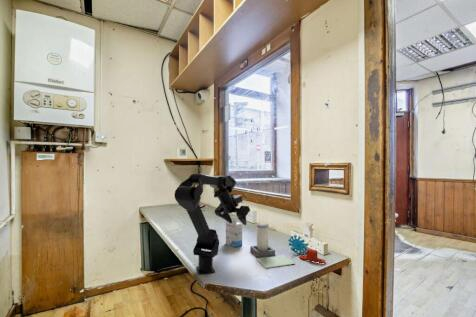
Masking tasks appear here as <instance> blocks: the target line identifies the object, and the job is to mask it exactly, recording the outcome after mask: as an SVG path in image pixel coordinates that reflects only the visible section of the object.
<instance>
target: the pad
mask: <svg viewBox="0 0 476 317" xmlns="http://www.w3.org/2000/svg"><path fill="white" fill-rule="evenodd" d="M255 259H256V261H257V262H258V263H259V264H260V265H261V266H262V267H263V268H265V269H272V268H273V269H274V268H279V267H285V266H286V265H287V266H292V264H294V265H296V263H295V262H294V261H293V260H291V259H289V258H288V257H287V256H286V255H284V254H282V255H281V254H280V255H275V256H269V257H261V258H257V257H256V258H255Z"/></svg>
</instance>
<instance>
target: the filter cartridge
mask: <svg viewBox="0 0 476 317" xmlns="http://www.w3.org/2000/svg"><path fill="white" fill-rule="evenodd" d="M256 246H257V250H258V251H267V250H268V246H269V223H265V222H263V223H262V222H259V223H257V224H256Z"/></svg>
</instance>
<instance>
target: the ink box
mask: <svg viewBox="0 0 476 317" xmlns="http://www.w3.org/2000/svg"><path fill="white" fill-rule="evenodd" d="M231 220H232V223H229V222H228V221H226V220H225V245H229V246H231V247H235V248H239V247H242V246H243V223H242V222H238V221H237V218H233V217H231Z"/></svg>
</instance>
